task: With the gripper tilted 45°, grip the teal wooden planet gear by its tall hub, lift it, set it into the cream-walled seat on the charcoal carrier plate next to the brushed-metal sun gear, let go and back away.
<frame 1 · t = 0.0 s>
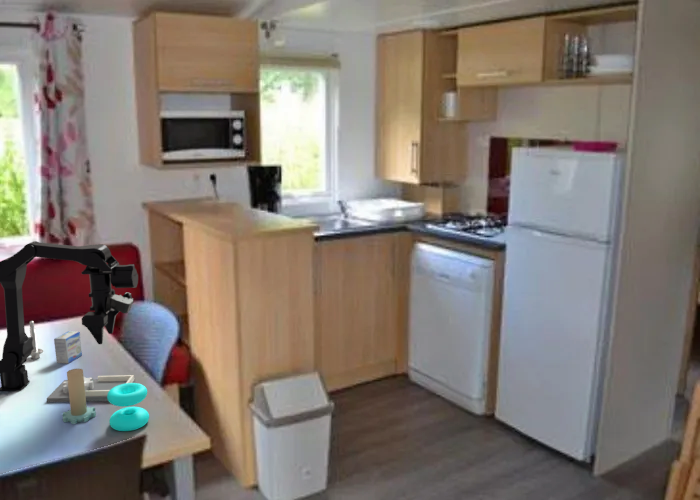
hand: (105, 338, 196), 15 cm above the table, tool pointing down, fingers open, 9 cm apart
donuts: (129, 424, 174), on the table
medicine box: (69, 359, 220), on the table
screw: (35, 358, 221), on the table
carrier plate: (92, 391, 194), on the table
planet gear: (79, 416, 178), on the table
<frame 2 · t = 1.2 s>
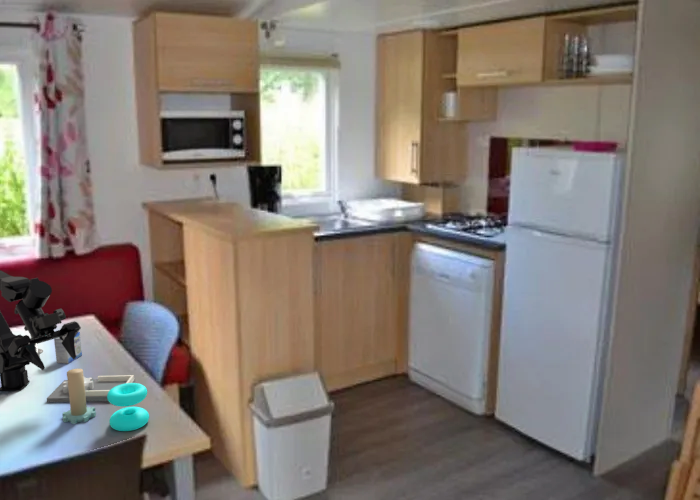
hand: (59, 363, 180), 13 cm above the table, tool tilted 45°, fingers open, 9 cm apart
nothing on the table moved.
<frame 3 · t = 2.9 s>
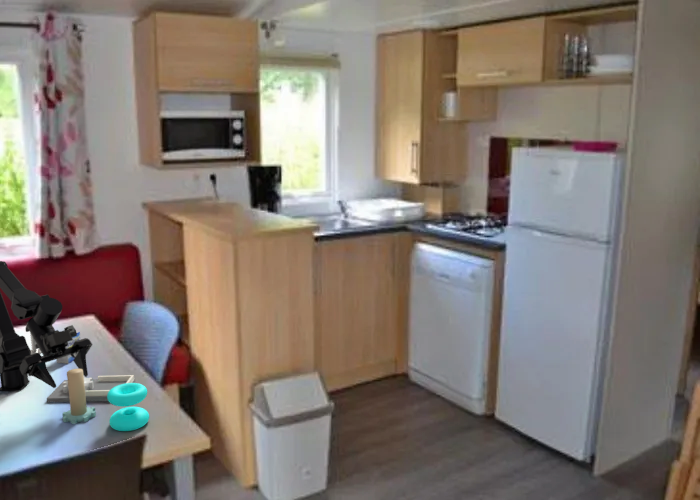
hand: (71, 381, 177), 10 cm above the table, tool tilted 45°, fingers open, 9 cm apart
nothing on the table moved.
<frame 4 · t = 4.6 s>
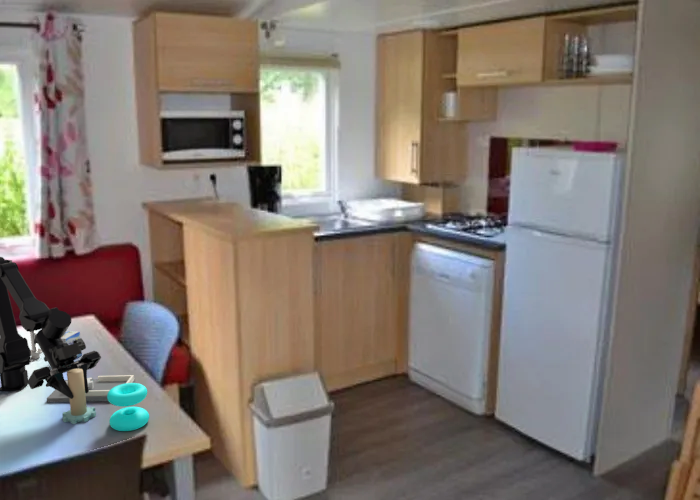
hand: (80, 395, 176), 7 cm above the table, tool tilted 45°, fingers closed on planet gear, 4 cm apart
planet gear: (79, 416, 178), on the table, touching gripper
everything else where it was.
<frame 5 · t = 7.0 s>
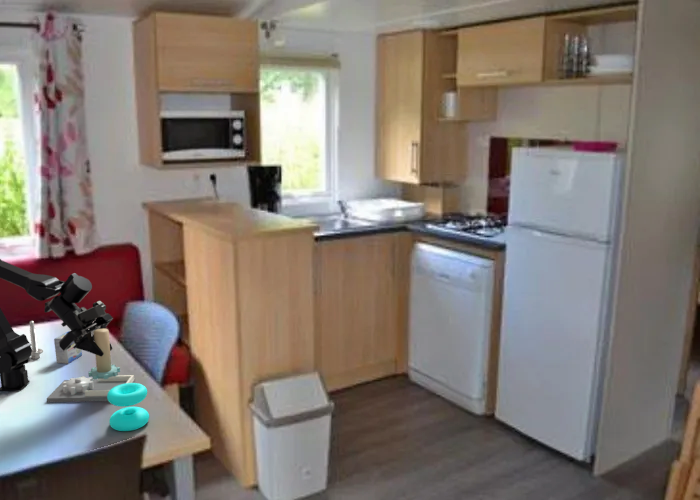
hand: (107, 352, 188), 13 cm above the table, tool tilted 45°, fingers closed on planet gear, 4 cm apart
planet gear: (104, 373, 190), point 7 cm above the table, touching gripper
everything else where it was.
when the fingers open (8 cm above the table, at t = 9.7 s): planet gear stays where it is, resting on carrier plate.
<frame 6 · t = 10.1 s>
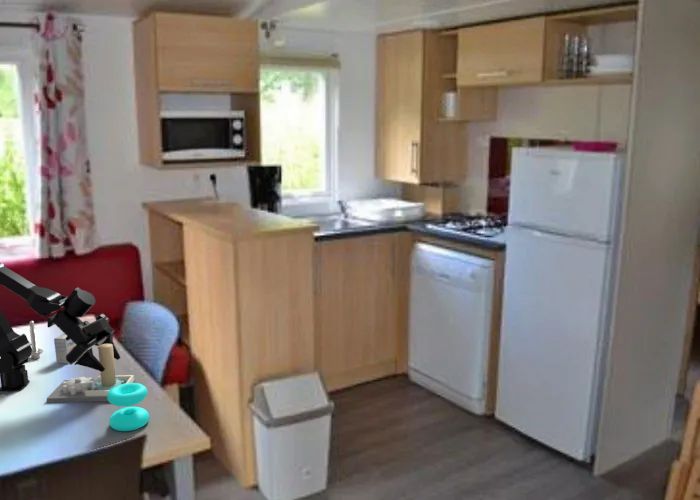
hand: (111, 364, 192), 9 cm above the table, tool tilted 45°, fingers open, 9 cm apart
planet gear: (109, 387, 194), point 1 cm above the table, touching carrier plate
everything else where it was.
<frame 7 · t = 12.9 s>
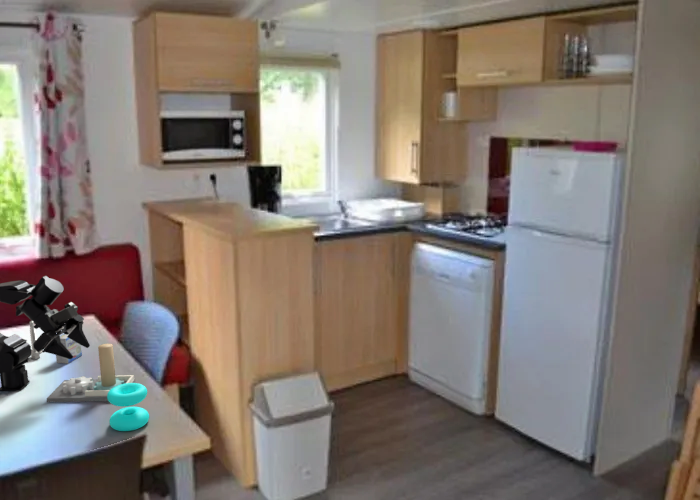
hand: (80, 352, 193), 12 cm above the table, tool tilted 45°, fingers open, 9 cm apart
nothing on the table moved.
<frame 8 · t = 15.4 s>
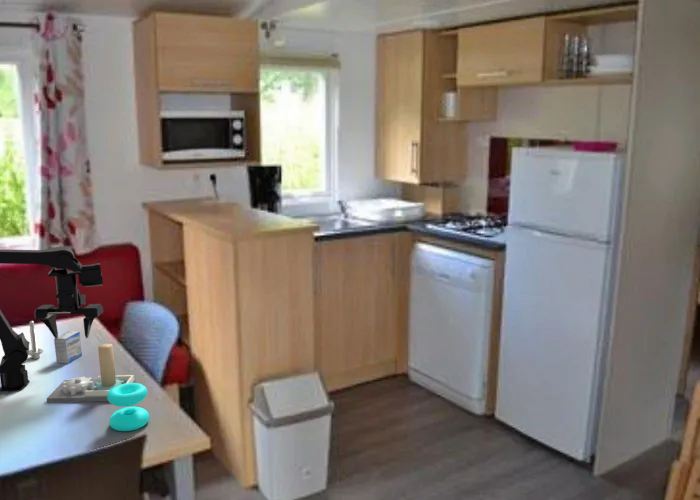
hand: (71, 338, 202), 13 cm above the table, tool pointing down, fingers open, 9 cm apart
nothing on the table moved.
at the end: planet gear 0.1 cm from the target spot on the carrier plate, point 1.2 cm above the carrier plate's base; planet gear tilted 0°; the gripper is holding nothing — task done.
